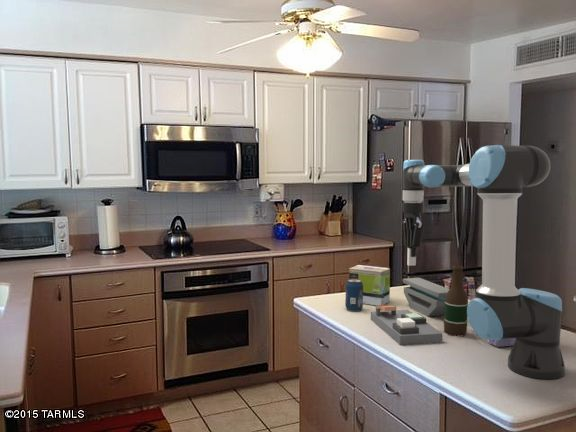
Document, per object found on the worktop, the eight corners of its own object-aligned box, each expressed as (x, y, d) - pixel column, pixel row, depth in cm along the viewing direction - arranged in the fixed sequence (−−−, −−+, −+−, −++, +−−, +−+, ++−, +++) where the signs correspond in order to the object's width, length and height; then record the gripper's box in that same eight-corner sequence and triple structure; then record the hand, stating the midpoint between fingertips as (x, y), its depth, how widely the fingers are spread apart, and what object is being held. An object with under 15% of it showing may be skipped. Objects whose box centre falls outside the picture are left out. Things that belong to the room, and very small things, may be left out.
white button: (414, 327, 178) (415, 321, 178) (402, 328, 177) (402, 322, 177) (409, 323, 182) (409, 317, 182) (396, 324, 181) (396, 318, 181)
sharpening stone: (401, 304, 223) (402, 278, 222) (418, 302, 226) (418, 277, 224) (437, 321, 200) (438, 293, 198) (455, 319, 202) (456, 291, 201)
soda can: (346, 306, 219) (347, 277, 218) (363, 307, 217) (364, 279, 216) (343, 311, 213) (344, 281, 211) (361, 312, 211) (361, 282, 209)
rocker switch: (396, 310, 193) (395, 305, 193) (384, 311, 192) (384, 305, 192) (387, 309, 202) (386, 304, 202) (376, 310, 201) (375, 305, 201)
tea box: (390, 301, 227) (391, 267, 225) (381, 307, 219) (381, 271, 217) (357, 296, 235) (358, 263, 233) (347, 301, 226) (348, 267, 225)
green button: (422, 322, 188) (422, 316, 188) (410, 323, 187) (410, 317, 187) (416, 318, 193) (417, 313, 192) (404, 319, 192) (405, 313, 191)
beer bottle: (468, 337, 182) (471, 268, 180) (444, 335, 184) (447, 267, 181) (465, 330, 190) (468, 264, 187) (442, 328, 191) (445, 263, 189)
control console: (442, 342, 177) (443, 325, 177) (400, 344, 174) (400, 327, 174) (407, 317, 205) (408, 302, 204) (370, 319, 202) (370, 304, 201)
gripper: (430, 202, 190) (429, 268, 192) (414, 200, 203) (412, 261, 205) (411, 203, 188) (410, 268, 191) (396, 200, 201) (394, 262, 203)
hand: (411, 265), depth 198 cm, fingers closed
